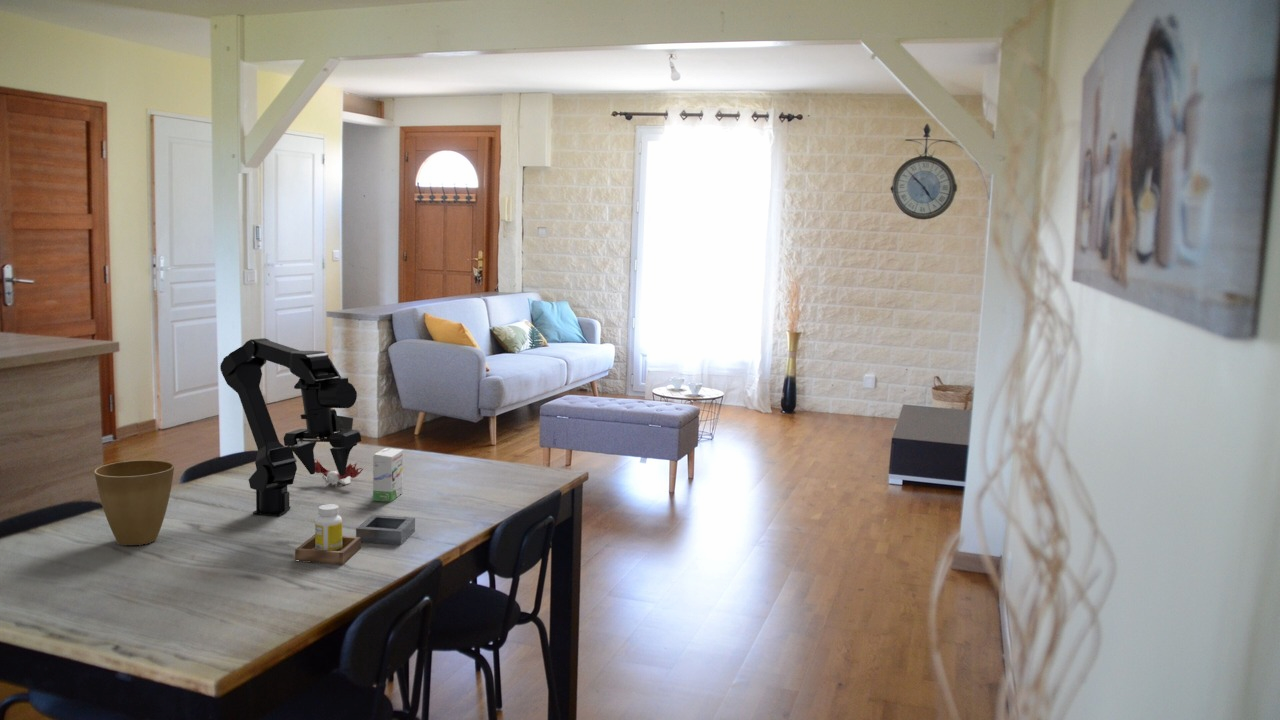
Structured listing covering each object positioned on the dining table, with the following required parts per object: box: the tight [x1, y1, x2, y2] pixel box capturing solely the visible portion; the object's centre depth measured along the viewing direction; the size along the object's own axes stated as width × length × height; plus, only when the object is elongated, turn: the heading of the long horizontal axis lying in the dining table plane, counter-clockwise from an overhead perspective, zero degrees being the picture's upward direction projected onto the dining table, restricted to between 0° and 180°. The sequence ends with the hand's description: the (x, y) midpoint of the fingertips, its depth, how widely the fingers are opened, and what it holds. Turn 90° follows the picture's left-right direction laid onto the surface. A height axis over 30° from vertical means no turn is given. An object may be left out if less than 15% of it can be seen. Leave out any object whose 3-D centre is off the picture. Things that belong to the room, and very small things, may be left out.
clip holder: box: [355, 514, 416, 546], centre depth 215 cm, size 10×10×3 cm
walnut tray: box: [294, 534, 362, 566], centre depth 202 cm, size 10×10×2 cm
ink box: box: [372, 447, 404, 503], centre depth 245 cm, size 8×5×12 cm, turn 174°
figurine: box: [314, 458, 364, 487], centre depth 254 cm, size 15×12×7 cm
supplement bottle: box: [314, 503, 343, 551], centre depth 202 cm, size 5×5×10 cm
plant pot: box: [93, 459, 175, 546], centre depth 205 cm, size 15×15×16 cm
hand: (327, 474), depth 220 cm, fingers open, 9 cm apart
